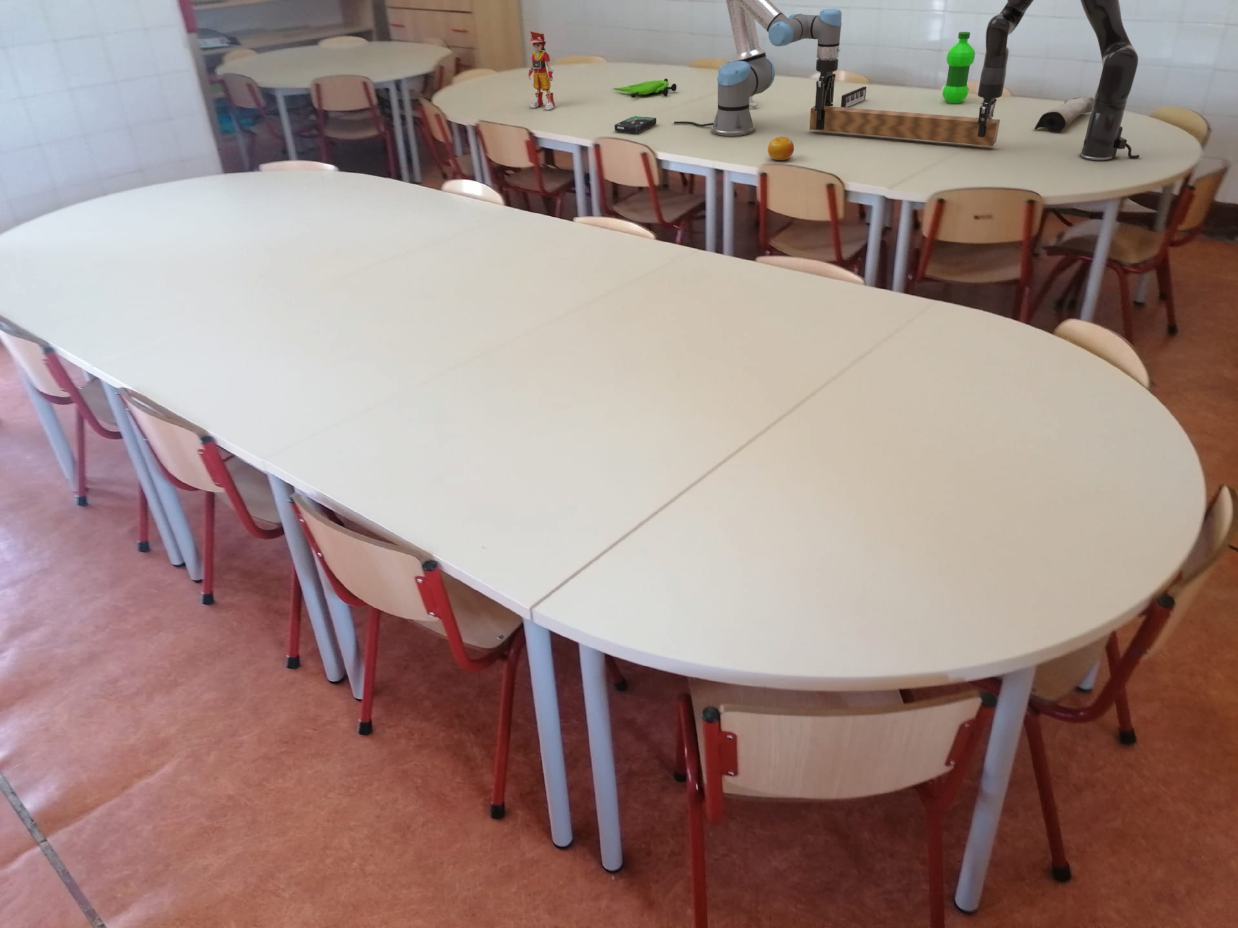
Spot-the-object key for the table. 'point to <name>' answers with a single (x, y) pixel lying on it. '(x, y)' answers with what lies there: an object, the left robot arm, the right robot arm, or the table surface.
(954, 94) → the plastic bottle
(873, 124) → the beam
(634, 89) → the toy
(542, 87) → the toy
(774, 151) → the fruit
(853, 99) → the midi keyboard
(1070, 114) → the rolled mat
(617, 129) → the disk drive
